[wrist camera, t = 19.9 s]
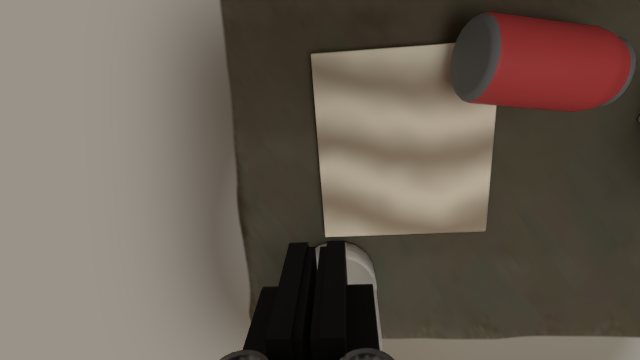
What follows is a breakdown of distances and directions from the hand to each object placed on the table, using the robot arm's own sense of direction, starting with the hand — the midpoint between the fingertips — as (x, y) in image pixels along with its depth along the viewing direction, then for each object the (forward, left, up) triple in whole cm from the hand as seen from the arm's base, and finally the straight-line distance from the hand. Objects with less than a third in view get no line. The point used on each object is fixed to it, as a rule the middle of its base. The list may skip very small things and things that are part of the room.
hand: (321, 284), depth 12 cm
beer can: (-4, +10, -22) cm, 24 cm away
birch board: (+4, +6, -27) cm, 28 cm away
